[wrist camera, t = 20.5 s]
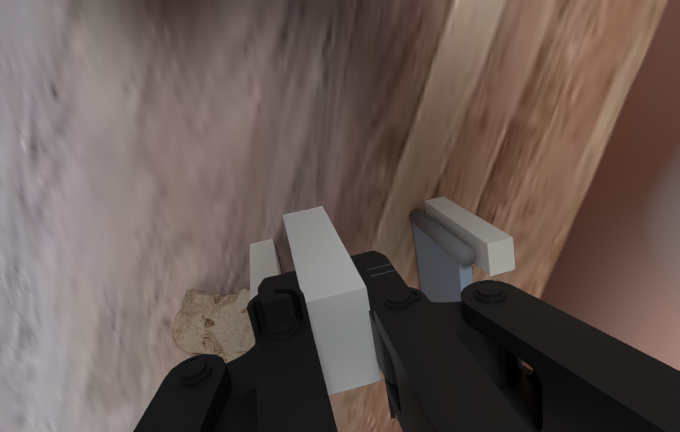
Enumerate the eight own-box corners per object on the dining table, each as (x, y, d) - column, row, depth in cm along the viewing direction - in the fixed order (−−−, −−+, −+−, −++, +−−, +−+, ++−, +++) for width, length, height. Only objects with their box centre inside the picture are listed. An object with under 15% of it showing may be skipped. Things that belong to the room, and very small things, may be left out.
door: (423, 333, 55) (471, 402, 43) (408, 210, 50) (458, 251, 38) (446, 327, 55) (500, 394, 43) (433, 205, 50) (490, 243, 38)
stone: (252, 365, 51) (247, 396, 46) (169, 309, 48) (154, 335, 43) (303, 313, 49) (303, 339, 45) (220, 251, 46) (210, 272, 42)
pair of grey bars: (249, 244, 47) (250, 307, 34) (443, 196, 50) (512, 237, 37) (256, 269, 48) (259, 339, 35) (446, 220, 51) (515, 269, 38)
